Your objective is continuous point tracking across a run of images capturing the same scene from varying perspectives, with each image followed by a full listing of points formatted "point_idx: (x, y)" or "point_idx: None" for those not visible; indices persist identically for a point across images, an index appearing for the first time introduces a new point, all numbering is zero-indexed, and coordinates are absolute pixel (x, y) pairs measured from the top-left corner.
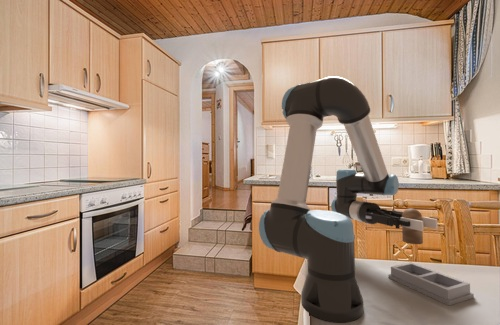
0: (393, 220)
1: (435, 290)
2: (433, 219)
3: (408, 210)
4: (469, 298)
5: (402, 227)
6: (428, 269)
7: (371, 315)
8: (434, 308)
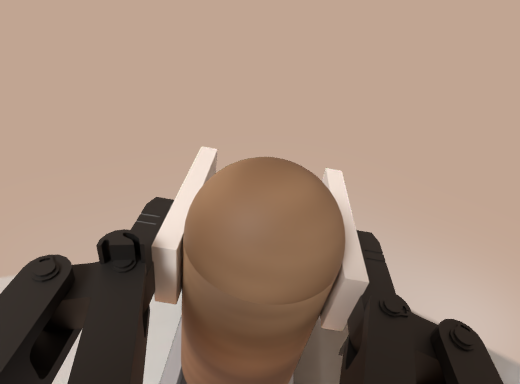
0: (432, 328)
1: None
2: (214, 157)
3: (325, 190)
4: None
5: (301, 346)
6: (171, 377)
7: (510, 376)
8: None
